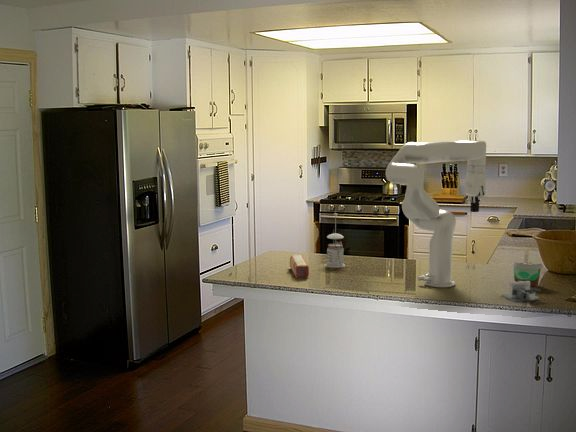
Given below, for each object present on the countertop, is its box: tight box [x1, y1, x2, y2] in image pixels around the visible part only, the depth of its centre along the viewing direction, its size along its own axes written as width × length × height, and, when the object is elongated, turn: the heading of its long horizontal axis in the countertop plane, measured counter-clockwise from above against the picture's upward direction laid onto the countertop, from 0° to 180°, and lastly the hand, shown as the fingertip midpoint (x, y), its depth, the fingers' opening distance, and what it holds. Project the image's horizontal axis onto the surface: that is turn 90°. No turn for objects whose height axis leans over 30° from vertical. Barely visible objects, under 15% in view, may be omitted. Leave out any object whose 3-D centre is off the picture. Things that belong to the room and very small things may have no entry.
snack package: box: [289, 254, 310, 280], centre depth 320 cm, size 21×7×7 cm, turn 6°
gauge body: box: [501, 291, 540, 303], centre depth 278 cm, size 11×9×3 cm
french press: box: [324, 212, 346, 268], centre depth 334 cm, size 10×12×25 cm
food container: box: [511, 260, 544, 289], centre depth 296 cm, size 12×6×10 cm, turn 69°
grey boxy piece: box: [509, 281, 541, 301], centre depth 275 cm, size 10×9×5 cm
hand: (474, 211), depth 309 cm, fingers closed
